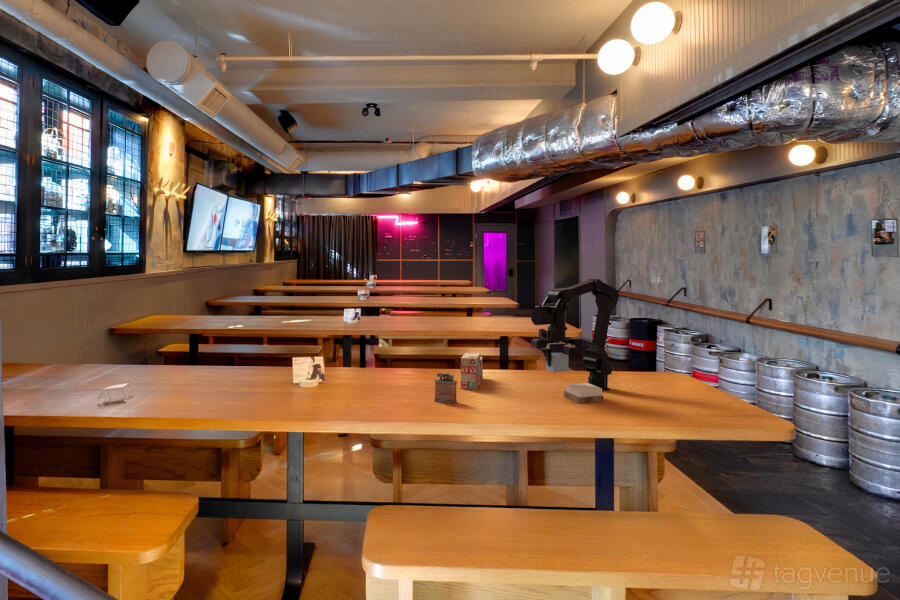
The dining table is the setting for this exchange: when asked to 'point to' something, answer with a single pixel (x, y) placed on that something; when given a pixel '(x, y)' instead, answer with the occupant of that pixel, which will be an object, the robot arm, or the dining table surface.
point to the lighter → (445, 388)
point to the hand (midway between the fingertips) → (557, 366)
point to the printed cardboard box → (471, 370)
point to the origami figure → (120, 386)
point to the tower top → (584, 390)
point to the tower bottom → (583, 398)
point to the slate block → (558, 362)
